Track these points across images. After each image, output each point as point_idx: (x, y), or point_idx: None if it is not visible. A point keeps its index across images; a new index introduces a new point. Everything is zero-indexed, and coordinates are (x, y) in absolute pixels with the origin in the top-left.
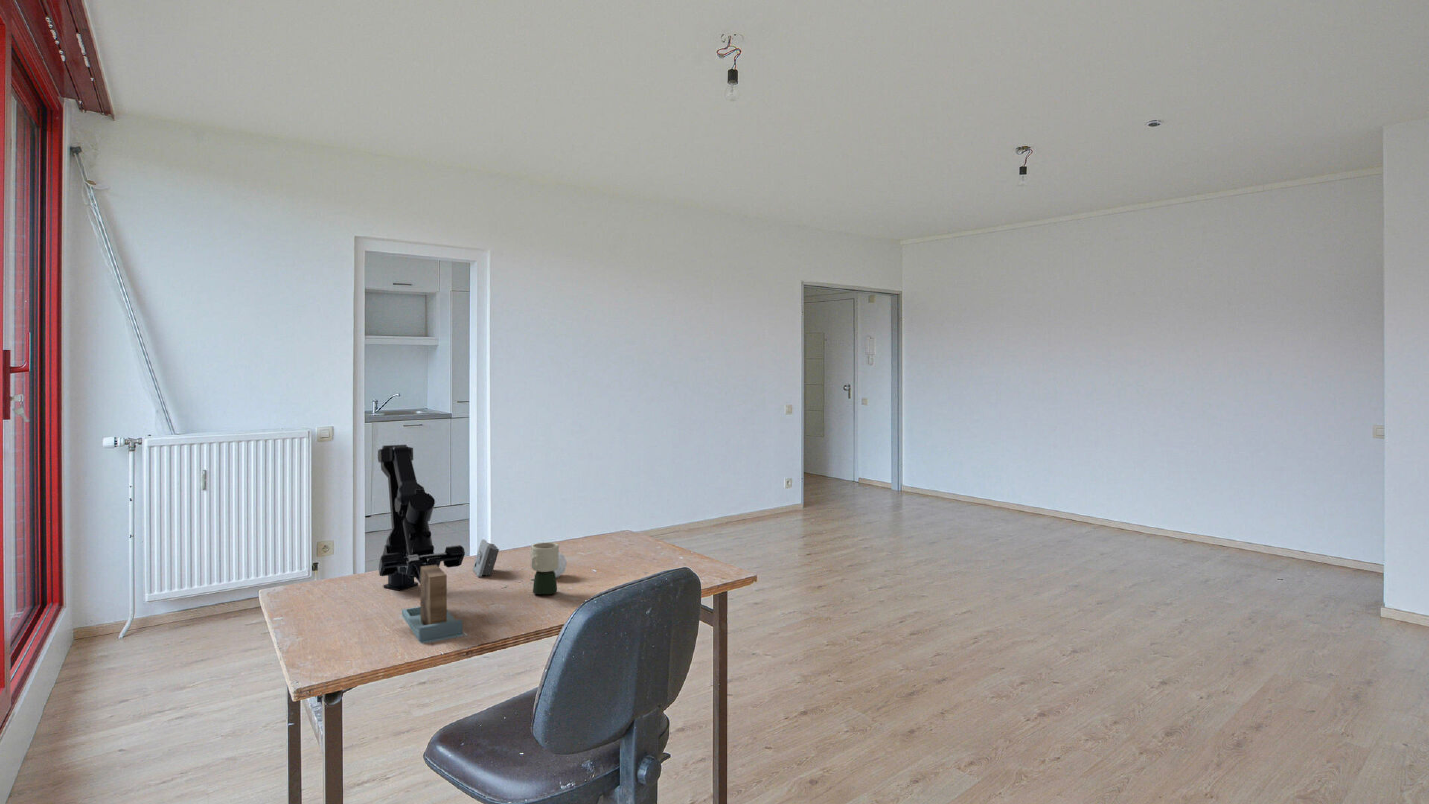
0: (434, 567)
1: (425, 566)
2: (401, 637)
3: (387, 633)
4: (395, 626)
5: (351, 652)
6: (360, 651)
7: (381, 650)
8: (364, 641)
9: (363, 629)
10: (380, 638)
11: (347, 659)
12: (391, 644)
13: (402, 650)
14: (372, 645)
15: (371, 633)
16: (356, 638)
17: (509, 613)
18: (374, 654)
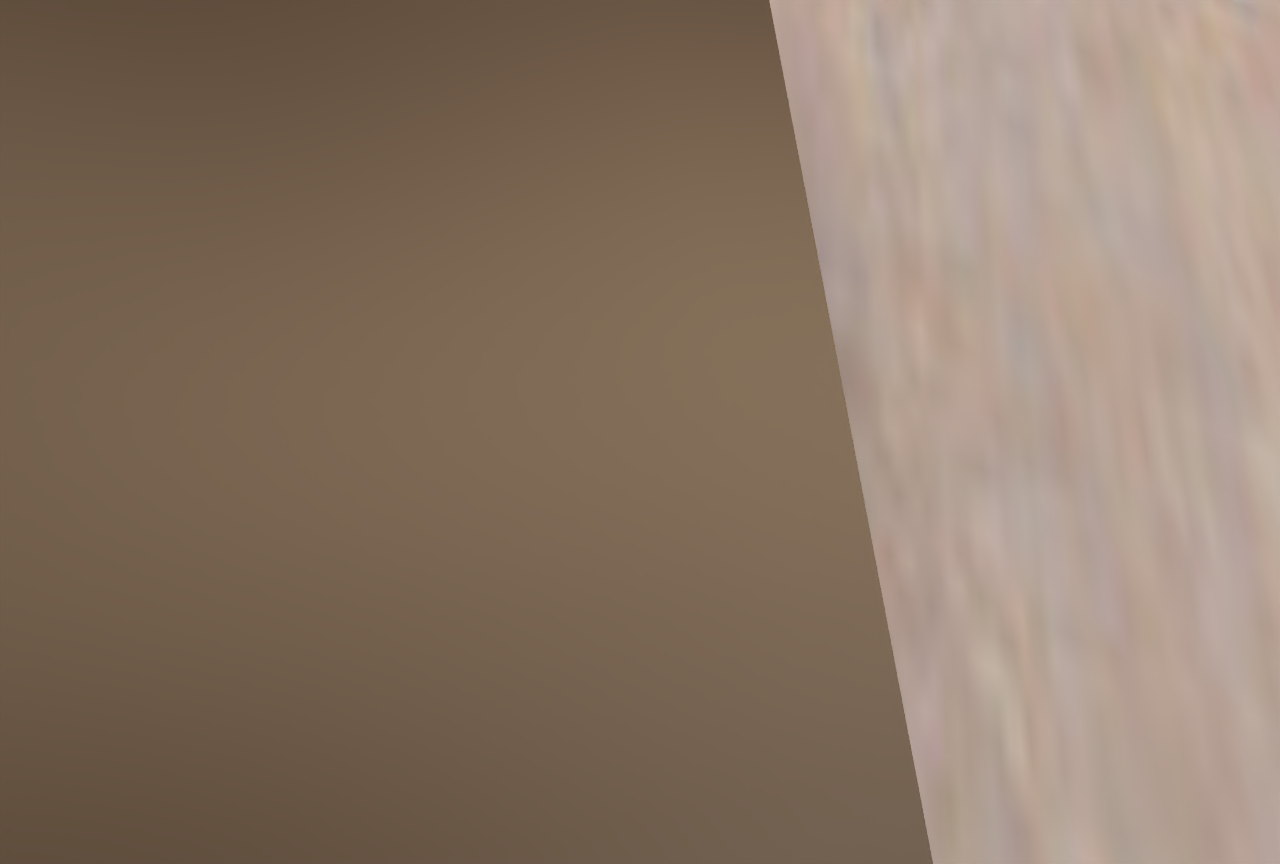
0: (209, 336)
1: (652, 764)
2: (849, 345)
3: (988, 525)
4: (917, 733)
5: (1247, 155)
6: (1178, 146)
7: (1009, 95)
8: (1182, 382)
9: (1248, 773)
10: (1044, 402)
11: (1250, 21)
12: (934, 199)
13: (838, 21)
14: (1097, 245)
15: (1147, 595)
16: (1269, 501)
17: None
18: (1057, 33)
